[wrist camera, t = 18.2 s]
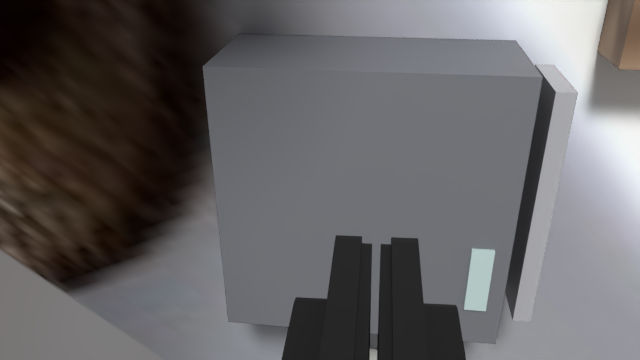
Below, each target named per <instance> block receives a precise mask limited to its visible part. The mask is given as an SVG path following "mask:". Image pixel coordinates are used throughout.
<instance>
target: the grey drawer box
mask: <svg viewBox="0 0 640 360" xmlns="http://www.w3.org/2000/svg"><path fill="white" fill-rule="evenodd" d="M203 76H204V86H205V96H206V105H207V115H208V125H209V135H210V145H211V155H212V165H213V175H214V185H215V195H216V205H217V215H218V225H219V235H220V245H221V255H222V265H223V275H224V285H225V294H226V304H227V314H228V322H236V323H248V324H260V325H272V326H284V327H289V323H290V318H291V313H292V308H293V304H294V300H295V298H296V297H302V298H323V299H327V295H328V288H329V280H330V273H331V265H332V258H333V251H334V243H335V237H336V235H344V236H362V243H370V244H372V275H371V319H370V334H378V313H379V281H380V249H381V244H391V237H399V238H418V242H419V254H420V266H421V278H422V290H423V302H424V303H428V304H449V305H456V306H457V308H458V313H459V319H460V326H461V332H462V338H463V341H465V342H477V343H489V344H496V339H497V334H498V328H499V322H500V317H501V311H502V305H503V300H504V294H505V288H506V283H507V277H508V271H509V266H510V260H511V254H512V249H513V243H514V237H515V232H516V226H517V220H518V215H519V209H520V203H521V198H522V192H523V186H524V181H525V175H526V169H527V164H528V158H529V152H530V147H531V141H532V135H533V130H534V124H535V118H536V113H537V107H538V101H539V96H540V90H541V84H542V79H543V77H542V75H541V74H540V73H539V71H538V70H537V69H536V67H535V66H534V65H533V63H532V62H531V60H530V59H529V58H528V56H527V55H526V54H525V52H524V51H523V50H522V48H521V47H520V46H519V44H518V43H517V42H516V41H511V40H469V39H427V38H386V37H344V36H302V35H261V34H238V35H237V36H236V37H235V38H234V39H233V40H231V41H230V42H229V43H228V44H227V45H226V46H225V47H224V48H223V49H221V50H220V51H219V52H218V53H217V54H216V55H215V56H214V57H213V58H212V59H210V60H209V61H208V62H207V63H206V64H205V65H204V66H203Z"/></svg>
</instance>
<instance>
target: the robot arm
mask: <svg viewBox="0 0 640 360" xmlns="http://www.w3.org/2000/svg"><path fill="white" fill-rule="evenodd" d="M371 275H372V244H370V243H362V236H344V235H336V237H335V243H334V251H333V258H332V265H331V273H330V280H329V288H328V295H327V299H323V298H302V297H296V298H295V300H294V304H293V308H292V313H291V318H290V323H289V327H288V332H287V337H286V342H285V347H284V351H283V356H282V360H369V359H370V319H371ZM377 360H466V357H465V351H464V345H463V338H462V332H461V326H460V319H459V313H458V308H457V306H456V305H449V304H428V303H424V302H423V290H422V278H421V266H420V254H419V242H418V238H399V237H391V244H381V249H380V281H379V313H378V346H377Z"/></svg>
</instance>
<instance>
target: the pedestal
mask: <svg viewBox="0 0 640 360" xmlns="http://www.w3.org/2000/svg"><path fill="white" fill-rule="evenodd" d="M598 52H599V53H600V54H601V55H602V56H603V57H605V58H606V59H607V60H608V61H609V62H611V63H612V64H613V65H614V66H615V67H616V68H618V69H629V70H640V0H609V1H608V6H607V10H606V15H605V19H604V24H603V29H602V33H601V38H600V43H599V47H598Z"/></svg>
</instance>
